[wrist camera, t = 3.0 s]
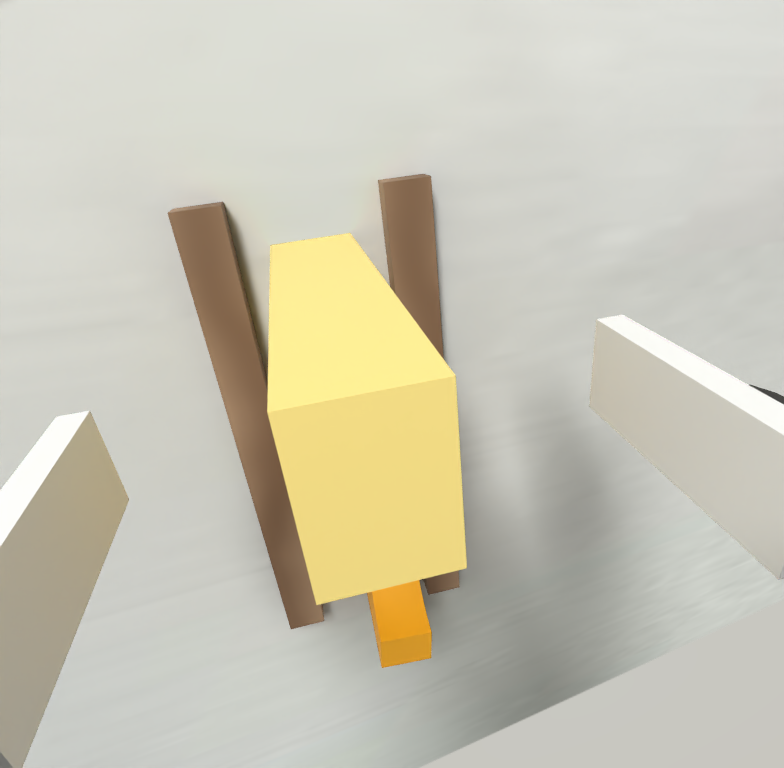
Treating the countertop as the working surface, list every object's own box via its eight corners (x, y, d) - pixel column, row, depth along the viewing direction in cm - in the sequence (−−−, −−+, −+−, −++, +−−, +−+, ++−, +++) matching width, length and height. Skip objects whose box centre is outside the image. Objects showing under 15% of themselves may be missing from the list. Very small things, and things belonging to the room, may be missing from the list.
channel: (290, 612, 32) (290, 629, 31) (172, 208, 21) (167, 213, 20) (453, 572, 33) (459, 587, 32) (423, 173, 22) (430, 176, 21)
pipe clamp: (318, 404, 26) (329, 480, 21) (401, 395, 27) (435, 465, 21) (334, 577, 32) (347, 674, 26) (403, 565, 32) (431, 658, 27)
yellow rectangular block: (292, 350, 25) (316, 604, 12) (270, 245, 22) (267, 412, 9) (365, 337, 25) (466, 567, 12) (350, 233, 23) (455, 375, 10)
